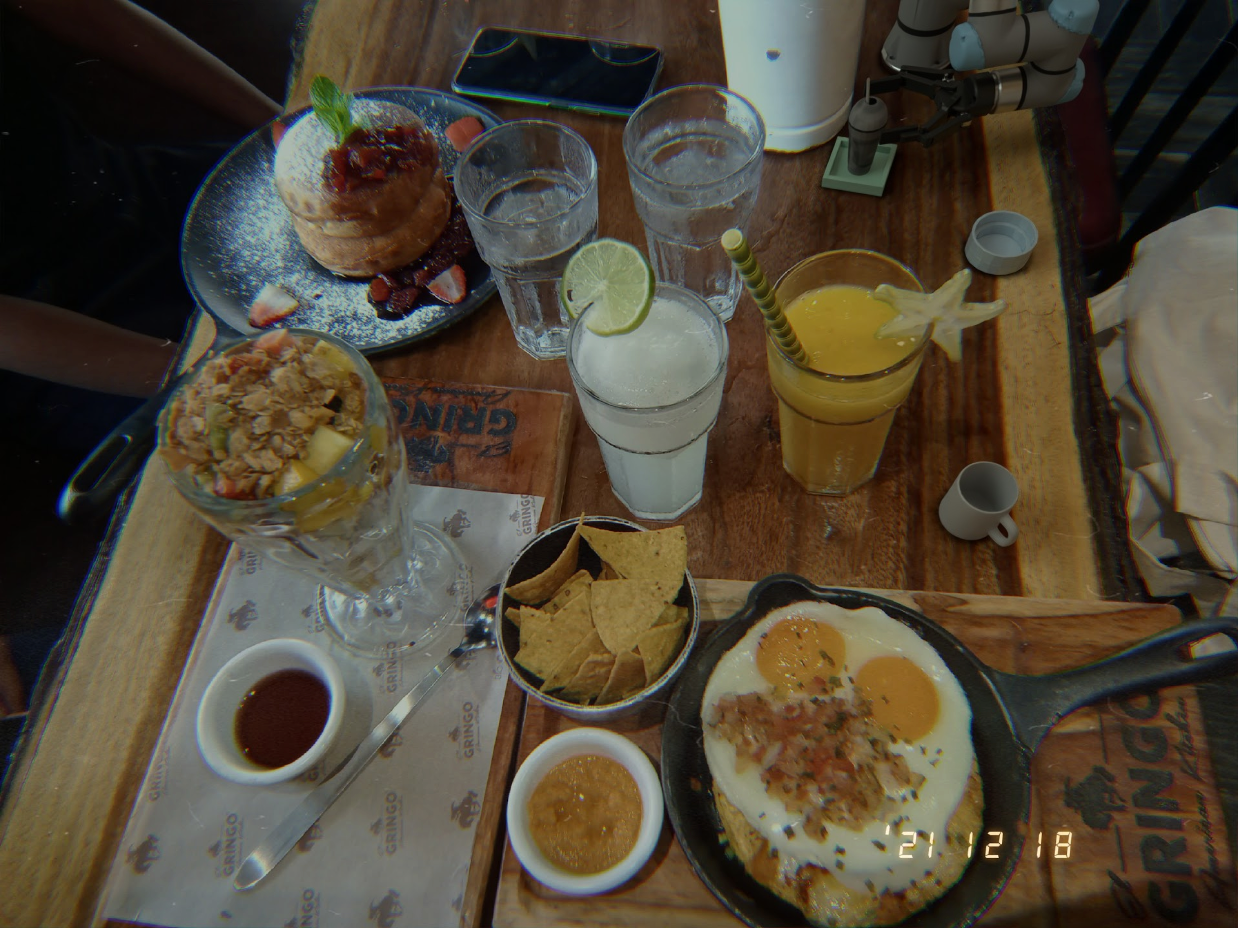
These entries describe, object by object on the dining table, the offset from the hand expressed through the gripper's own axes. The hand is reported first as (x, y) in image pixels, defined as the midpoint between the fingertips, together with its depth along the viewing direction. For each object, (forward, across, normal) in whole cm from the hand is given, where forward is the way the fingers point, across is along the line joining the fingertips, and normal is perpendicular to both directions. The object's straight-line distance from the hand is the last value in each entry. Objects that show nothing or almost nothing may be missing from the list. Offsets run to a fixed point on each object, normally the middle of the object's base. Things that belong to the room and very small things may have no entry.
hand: (871, 113), depth 138 cm
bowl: (-19, -26, -13) cm, 35 cm away
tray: (+1, 0, -13) cm, 13 cm away
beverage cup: (+1, 0, -13) cm, 13 cm away
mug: (-1, -78, -14) cm, 80 cm away
